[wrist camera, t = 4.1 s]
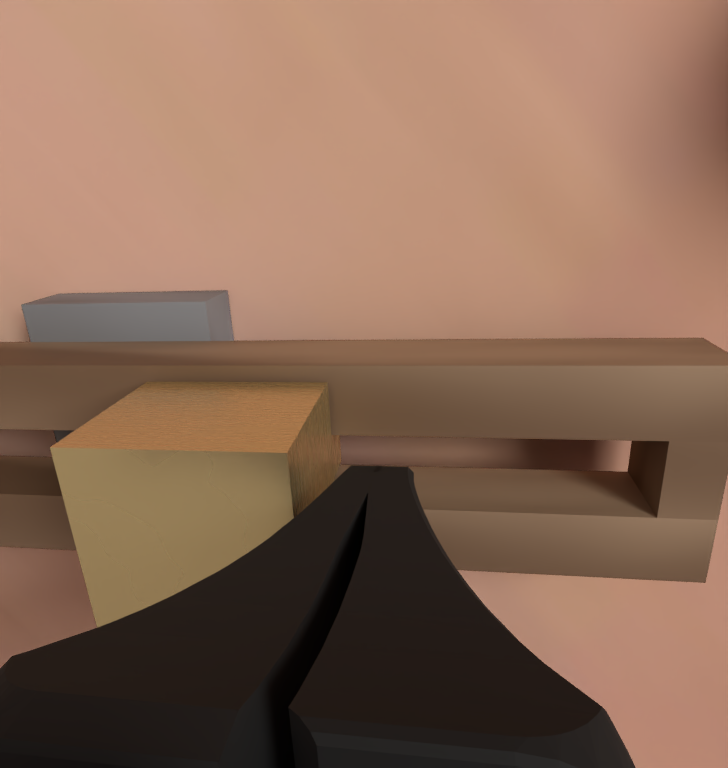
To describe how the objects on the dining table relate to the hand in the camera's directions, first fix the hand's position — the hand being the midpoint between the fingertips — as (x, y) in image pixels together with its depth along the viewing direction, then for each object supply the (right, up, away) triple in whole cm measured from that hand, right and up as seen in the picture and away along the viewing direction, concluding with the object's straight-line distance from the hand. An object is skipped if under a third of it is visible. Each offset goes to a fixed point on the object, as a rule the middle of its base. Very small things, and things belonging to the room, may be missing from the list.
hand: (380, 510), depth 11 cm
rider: (-3, +1, +3) cm, 4 cm away
